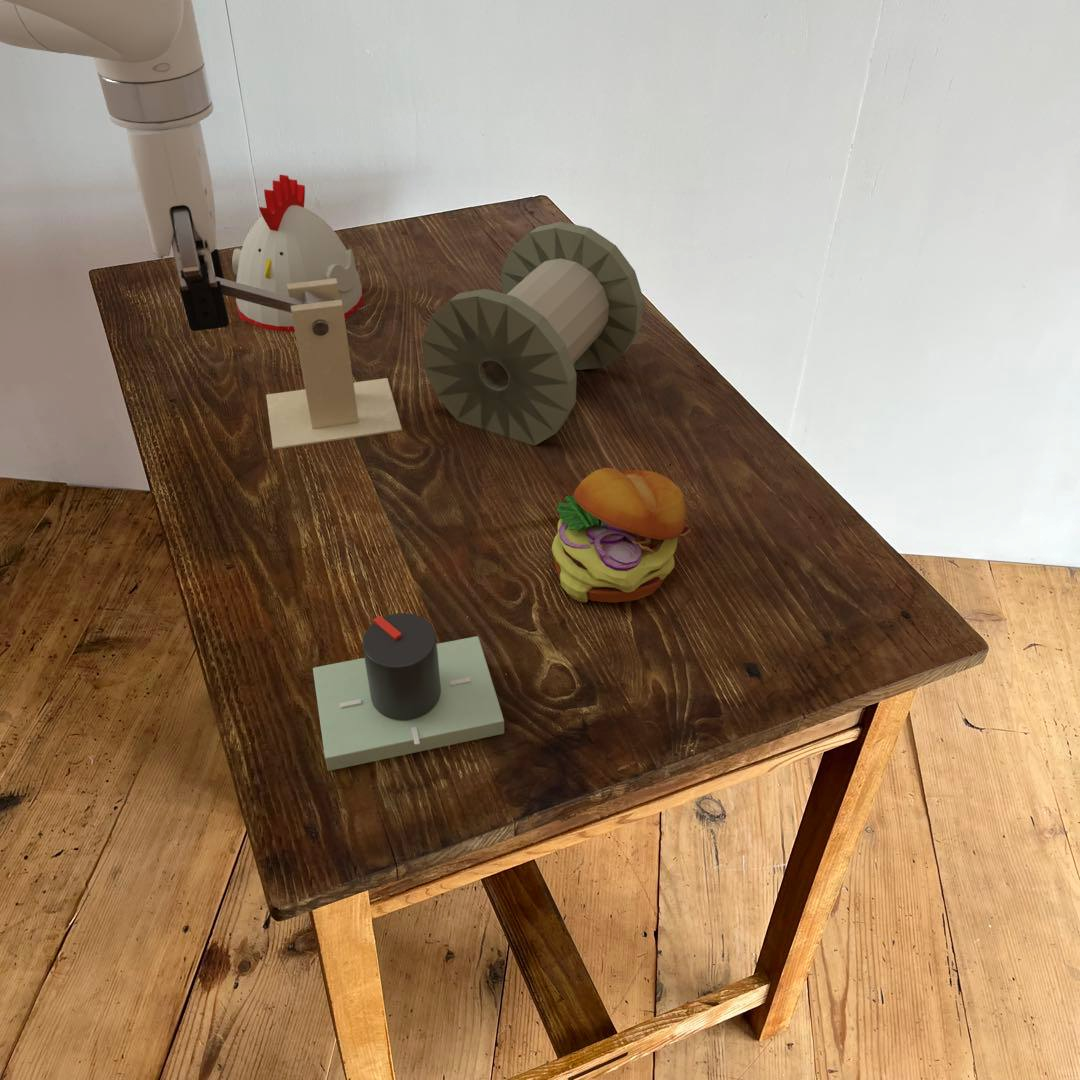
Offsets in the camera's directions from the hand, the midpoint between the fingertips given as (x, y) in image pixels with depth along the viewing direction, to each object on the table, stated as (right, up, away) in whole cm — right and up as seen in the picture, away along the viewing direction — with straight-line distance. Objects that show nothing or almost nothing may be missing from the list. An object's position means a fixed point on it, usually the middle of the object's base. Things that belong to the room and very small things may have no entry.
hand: (208, 308), depth 87 cm
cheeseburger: (+35, -22, -4) cm, 41 cm away
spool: (+28, -6, +14) cm, 32 cm away
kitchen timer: (+2, +6, +27) cm, 28 cm away
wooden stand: (+9, -9, +11) cm, 16 cm away
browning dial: (+19, -31, -18) cm, 40 cm away
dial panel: (+19, -33, -16) cm, 41 cm away
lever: (+4, 0, +1) cm, 4 cm away
